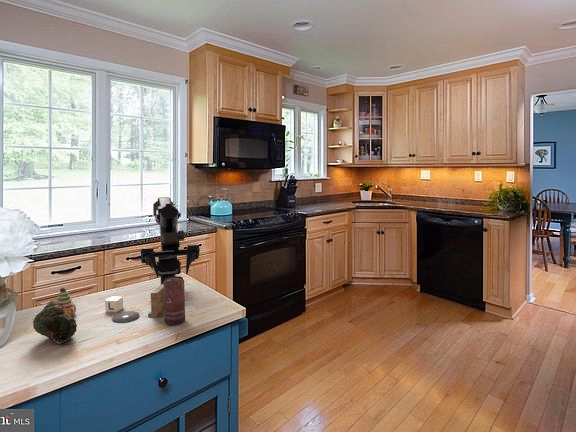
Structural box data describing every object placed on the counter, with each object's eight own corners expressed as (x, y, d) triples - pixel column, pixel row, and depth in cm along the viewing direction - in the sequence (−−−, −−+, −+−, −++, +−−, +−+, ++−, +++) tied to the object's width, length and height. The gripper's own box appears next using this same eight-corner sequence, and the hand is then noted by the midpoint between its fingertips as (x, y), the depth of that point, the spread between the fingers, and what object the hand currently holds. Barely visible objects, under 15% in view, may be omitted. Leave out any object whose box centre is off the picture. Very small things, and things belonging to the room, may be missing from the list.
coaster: (120, 312, 122) (120, 310, 122) (143, 312, 122) (143, 311, 122) (106, 322, 114) (106, 320, 114) (131, 322, 114) (131, 321, 114)
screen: (159, 306, 128) (158, 284, 127) (171, 306, 127) (171, 284, 126) (147, 316, 119) (146, 292, 118) (161, 317, 118) (160, 293, 117)
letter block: (112, 307, 127) (111, 296, 126) (123, 307, 126) (122, 296, 126) (105, 312, 123) (104, 300, 122) (117, 312, 122) (116, 300, 122)
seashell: (28, 353, 95) (25, 316, 93) (38, 335, 105) (35, 301, 104) (76, 346, 99) (73, 310, 98) (80, 329, 109) (78, 296, 108)
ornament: (45, 323, 113) (43, 292, 112) (48, 316, 118) (46, 286, 117) (75, 319, 116) (73, 288, 115) (76, 312, 122) (75, 283, 121)
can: (180, 326, 112) (178, 281, 110) (161, 324, 113) (159, 280, 111) (189, 318, 117) (188, 276, 116) (171, 317, 119) (169, 274, 117)
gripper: (139, 223, 119) (140, 265, 111) (198, 221, 126) (204, 260, 117) (140, 243, 128) (142, 283, 119) (195, 239, 134) (200, 277, 126)
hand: (172, 275), depth 120 cm, fingers open, 9 cm apart
